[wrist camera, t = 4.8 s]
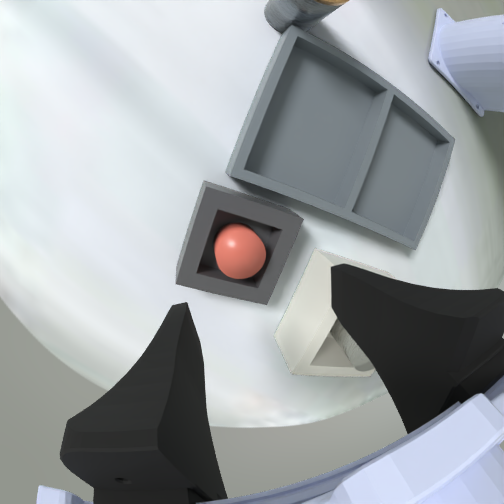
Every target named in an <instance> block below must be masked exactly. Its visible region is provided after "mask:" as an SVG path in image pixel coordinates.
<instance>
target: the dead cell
mask: <svg viewBox="0 0 504 504" xmlns="http://www.w3.org/2000/svg"><path fill="white" fill-rule="evenodd" d="M330 334H331V335H332V337H333V338H334V339H335V341H336V342H337V344H338V345H339V346H340V348H341V349H342V351H343V352H344V353H345V355H346V356H347V358H348V359H349V360H350V362H351V363H352V365H353V366H354V367H355V369H356V370H358V371H361V372H365V371H369V370H372V369H374V368H375V367H374V366H373V364H372V363H371V361H370V360H369V359H368V357H367V356H366V355H365V354H364V352H363V351H362V350H361V349H360V347H359V346H358V345H357V344H356V342H355V341H354V340H353V339H352V337H351V336H350V335H349V334H348V332H347V331H346V330H345V329H344V327H343V326H342V325H341V323H340V321H339V320H338V318H337V319H336V321H335V323H334V324H333V326H332V328H331V330H330Z"/></svg>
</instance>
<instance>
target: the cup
mask: <svg viewBox="0 0 504 504" xmlns="http://www.w3.org/2000/svg"><path fill="white" fill-rule="evenodd" d="M343 263H344V264H349V265H352V266H356V267H359V268H362V269H365V270H368V271H371V272H374V273H377V274H380V275H383V276H386V277H389V278H392V279H396V278H395V277H393V276H392V275H391V274H389V273H388V272H386V271H383V270H380V269H377V268H374V267H371V266H368V265H365V264H362V263H359V262H356V261H353V260H350V259H347V258H344V257H341V256H338V255H335V254H332V253H329V252H326V251H323V250H320V249H317V248H315V249H314V251H313V253H312V256H311V258H310V260H309V262H308V265H307V267H306V269H305V271H304V274H303V276H302V278H301V280H300V282H299V284H298V287H297V289H296V291H295V293H294V295H293V297H292V299H291V301H290V304H289V306H288V308H287V310H286V312H285V314H284V316H283V318H282V320H281V322H280V324H279V326H278V328H277V330H276V332H275V334H274V338H275V340H276V342H277V344H278V346H279V349H280V351H281V353H282V355H283V357H284V359H285V362H286V364H287V366H288V368H289V370H290V372H291V374H292V375H309V376H336V377H370V376H371V375H372V373H373V372H374V371H375V368H374V369H372V370H369V371H365V372H361V371H358V370H356V369H355V367H354V366H353V365H352V363H351V362H350V360H349V359H348V358H347V356H346V355H345V353H344V352H343V351H342V349H341V348H340V346H339V345H338V344H337V342H336V341H335V339H334V338H333V337H332V335H331V334H330V330H331V328H332V326H333V324H334V323H335V321H336V319H337V316H336V314H335V313H334V311H333V309H332V307H331V267H332V266H335V265H339V264H343ZM396 280H397V279H396Z"/></svg>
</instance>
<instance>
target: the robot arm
mask: <svg viewBox="0 0 504 504" xmlns="http://www.w3.org/2000/svg"><path fill="white" fill-rule="evenodd" d="M429 62H430V63H431V64H432V65H433V66H434V67H435V68H436V69H437V70H438V71H439V72H440V73H441V74H442V75H443V76H444V77H445V78H446V79H447V80H448V81H449V82H450V83H451V84H452V85H453V86H454V87H455V89H456V90H457V91H458V92H459V93H460V94H461V95H462V96H463V97H464V99H465V100H466V101H467V102H468V103H469V104H470V105H471V107H472V108H473V109H474V110H475V112H476V113H477V114H478V115H479V116H480V117H483V116H484V111H485V110H488V111H498V112H504V15H496V16H488V17H481V18H475V19H470V20H464V21H459V22H455V21H454V20H453V19H452V18H451V17H450V16H449V15H448V14H447V13H446V12H445V11H444V10H443V9H441V8H439V9H437V14H436V20H435V26H434V32H433V38H432V43H431V48H430V53H429ZM331 307H332V309H333V311H334V313H335V314H336V316H337V318H338V320H339V321H340V323H341V325H342V326H343V327H344V329H345V330H346V331H347V332H348V334H349V335H350V336H351V337H352V339H353V340H354V341H355V342H356V344H357V345H358V346H359V347H360V349H361V350H362V351H363V352H364V354H365V355H366V356H367V357H368V359H369V360H370V361H371V363H372V364H373V366H374V367H375V369H376V371H377V372H378V374H379V376H380V377H381V379H382V381H383V382H384V384H385V386H386V388H387V390H388V392H389V394H390V395H391V397H392V399H393V401H394V403H395V406H396V408H397V410H398V412H399V414H400V416H401V418H402V421H403V423H404V426H405V428H406V431H407V433H408V435H406V436H405V437H403V438H401V439H399V440H397V441H395V442H393V443H392V444H390V445H388V446H386V447H384V448H382V449H380V450H378V451H376V452H374V453H372V454H370V455H368V456H366V457H363V458H361V459H359V460H357V461H354V462H352V463H350V464H347V465H345V466H343V467H340V468H337V469H335V470H332V471H330V472H327V473H324V474H321V475H319V476H316V477H313V478H310V479H307V480H304V481H301V482H298V483H295V484H291V485H288V486H284V487H280V488H276V489H273V490H268V491H264V492H260V493H256V494H251V495H246V496H241V497H235V498H229V499H228V497H227V494H226V491H225V488H224V484H223V481H222V477H221V474H220V470H219V466H218V462H217V459H216V454H215V450H214V446H213V442H212V437H211V432H210V427H209V422H208V417H207V408H206V393H205V375H204V361H203V355H202V349H201V343H200V340H199V337H198V334H197V331H196V328H195V325H194V322H193V319H192V316H191V313H190V310H189V307H188V303H187V302H185V303H181V304H176V305H172V307H171V308H170V310H169V312H168V313H167V315H166V317H165V319H164V321H163V323H162V324H161V326H160V328H159V330H158V331H157V333H156V335H155V336H154V338H153V340H152V341H151V343H150V344H149V346H148V347H147V349H146V350H145V352H144V353H143V354H142V356H141V357H140V358H139V360H138V361H137V362H136V363H135V364H134V366H133V367H132V368H131V369H130V370H129V371H128V373H127V374H126V375H125V376H124V377H123V378H122V379H121V380H120V381H119V382H118V383H117V384H116V385H115V386H114V387H113V388H111V389H110V390H109V391H108V392H107V393H106V394H105V395H103V396H102V397H101V398H100V399H98V400H97V401H96V402H95V403H93V404H92V405H91V406H89V407H88V408H86V409H85V410H83V411H82V412H80V413H78V414H77V415H75V416H74V417H72V418H70V419H69V420H68V421H67V424H66V429H65V433H64V437H63V441H62V446H61V451H60V459H61V461H62V462H63V464H64V465H65V466H66V467H67V468H68V469H69V470H70V471H71V472H72V473H74V474H75V475H76V476H78V477H79V478H80V479H82V480H83V481H85V482H86V483H88V484H89V485H90V486H92V487H93V488H94V499H93V502H90V501H83V500H82V499H81V498H80V497H78V496H77V495H75V494H73V493H71V492H68V491H66V490H62V489H56V488H51V487H47V486H42V485H40V486H39V488H38V495H37V502H36V504H504V451H503V450H502V449H501V448H500V446H499V444H500V443H501V442H502V441H503V440H504V339H503V338H502V336H503V333H504V291H502V290H500V289H498V288H495V289H484V290H449V289H439V288H432V287H426V286H421V285H415V284H411V283H407V282H403V281H399V280H396V279H392V278H389V277H386V276H383V275H380V274H377V273H374V272H371V271H368V270H365V269H362V268H359V267H356V266H352V265H349V264H344V263H343V264H339V265H335V266H332V267H331Z"/></svg>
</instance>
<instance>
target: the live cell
mask: <svg viewBox="0 0 504 504" xmlns="http://www.w3.org/2000/svg"><path fill="white" fill-rule="evenodd" d="M348 1H349V0H269V2H268V3H267V5H266V6H265V10H264V13H265V17H266V20H267V21H268V23H269V24H270V25H271V26H272V27H273V28H274V29H276V30H277V31H279V32H281V33H284V32H285V31H286V30H287V29H288V28H289V27H290V26H291V25H293V26H295V27H297V28H300V29H302V30H304V31H306V32H307V31H308V30H309V29H311V28H312V27H313V26H314V25H316V24H317V23H318V22H320V21H321V20H322V19H324V18H325V17H326V16H328V15H329V14H331V13H332V12H333V11H335V10H336V9H338V8H339V7H340V6H342V5H343V4H345V3H346V2H348Z"/></svg>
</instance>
